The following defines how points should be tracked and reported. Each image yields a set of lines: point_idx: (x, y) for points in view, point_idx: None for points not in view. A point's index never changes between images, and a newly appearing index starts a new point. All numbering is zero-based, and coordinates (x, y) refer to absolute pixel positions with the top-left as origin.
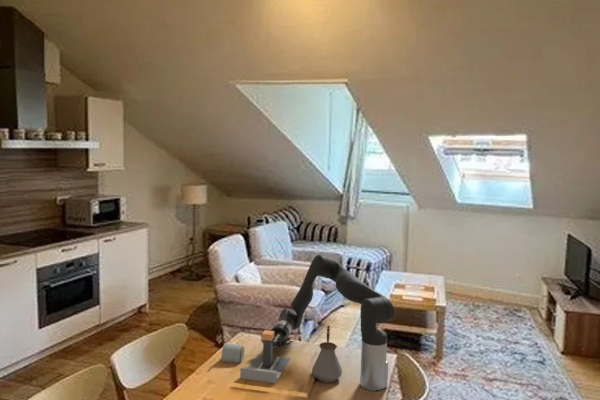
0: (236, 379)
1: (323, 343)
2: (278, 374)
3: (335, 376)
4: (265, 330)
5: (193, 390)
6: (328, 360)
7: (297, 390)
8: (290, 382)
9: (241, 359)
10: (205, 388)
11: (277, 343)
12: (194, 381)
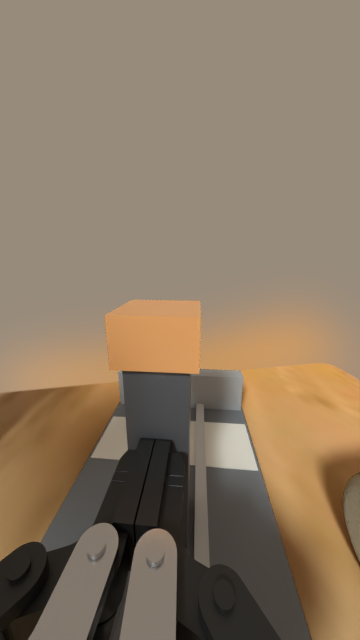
0: (256, 418)
1: None
2: (109, 438)
3: None
4: (193, 314)
5: (312, 372)
6: None
7: (63, 398)
8: (70, 428)
9: (344, 512)
10: (296, 379)
11: (59, 556)
12: (355, 395)
